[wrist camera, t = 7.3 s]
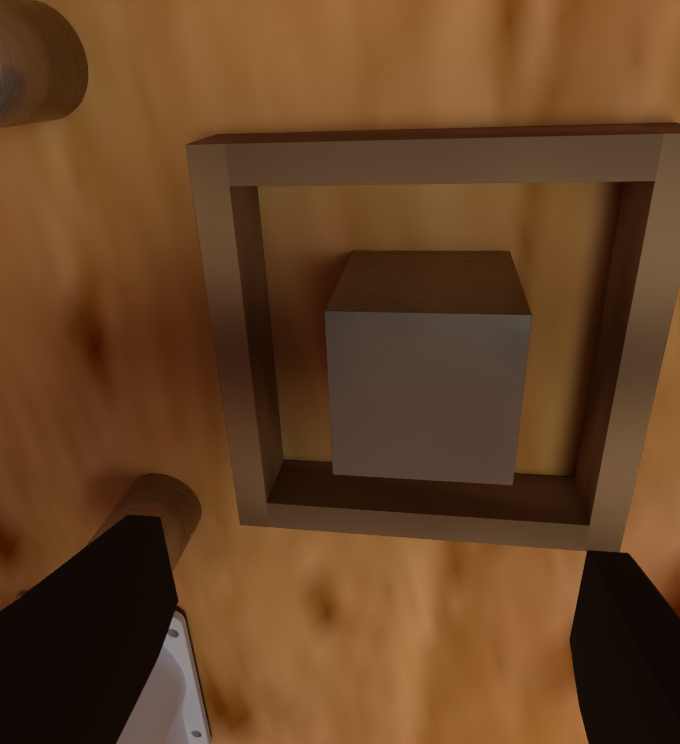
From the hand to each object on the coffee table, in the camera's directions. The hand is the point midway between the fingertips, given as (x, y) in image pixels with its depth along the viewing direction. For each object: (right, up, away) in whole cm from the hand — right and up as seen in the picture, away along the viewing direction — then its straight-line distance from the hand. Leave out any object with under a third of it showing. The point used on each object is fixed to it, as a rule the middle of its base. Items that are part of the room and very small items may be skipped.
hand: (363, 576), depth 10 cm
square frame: (+2, +5, +8) cm, 10 cm away
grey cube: (+2, +5, +8) cm, 10 cm away
